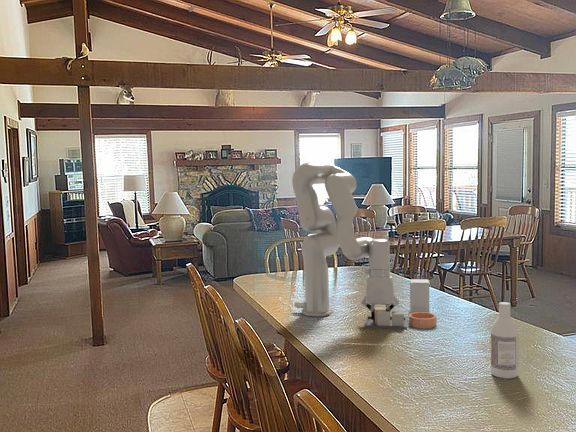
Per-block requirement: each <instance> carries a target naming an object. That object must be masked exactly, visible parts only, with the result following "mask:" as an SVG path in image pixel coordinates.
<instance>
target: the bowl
mask: <svg viewBox="0 0 576 432" xmlns="http://www.w3.org/2000/svg"><path fill="white" fill-rule="evenodd" d="M437 321H438V320H437V314H436V313H431V312H429V313H428V312H415V313H409V314H408V322H409V323H408V325H409V326H411V327H412V328H413V327H414V328H417V329H418V328H419V329H430V328H435V327H437V324H438V323H437Z"/></svg>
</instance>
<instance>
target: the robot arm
mask: <svg viewBox="0 0 576 432" xmlns="http://www.w3.org/2000/svg"><path fill="white" fill-rule="evenodd" d="M291 183H292V188H293V193H294V196H295V200H296V207H297V211H298V212H297V213H298V217H299V222H300V225H301V226H300V227H301V228H302V229H303V230H304V231H306V232H316V233H314V234H311V235H308V236H306V237H305V238H304V239H303V241H302V242H301V246H300V247H301V254H302V258H303V267H304V269H303V270H304V271H303V272H304V296H305V297H304V300H305V301H302V302H299V301H295V302H294V307H295V308H297V309H301V314H302V315H304V316H306V317H307V316H308V317H315V318H316V317H319V318H320V317H326V316H330V315H332V314H333V313H334V309H333V308H332V307H330V287H329V286H330V284H329V281H330V280H329V267H328V266H329V265H328V262H327V260H326V257H329V256H331V255H334V254H336V252H337V251H338V250H339V247H340V250H341V252H342V253H343V255H344V256H345V257H346V258H347V259H349V260H352V261H355V260H360V259H363V258H367V257H368V267H369V268H367V269H365V274H368V275H367V277H366V282H365V296H364V297H363V298H362V300H361V302H360V303H361V305H363V306H365V307H366V308H367V309H368V310H369V311H370V312H371V314H370V316H371V320H373V323H375V306H376V305H385V308H386V311H390V312H391V311H392V310H393V309H394V308H395V307H397V306H398V305H399V304H400V301H399V300H398V299H397V297H396V296H395V291H394V290H395V288H394V287H395V286H394V279H393V276H392V275H391V259H390V258H391V252H390V249H391V248H390V247H391V245H390V241H389V240H388V239H385V238H372V237H367V236H362V237H357V238H356V235H355V232H354V228H353V222H354V221H353V220H354V218H355V216H356V215H357V213H358V210H359V209H358V206H357V204H356V203H357V202H356V201H355V199H354V196H353V194H354V192H355V191H356V189H357V180H356V178H355V176H354V175H352V174H351V173H349V172H348V171H346V170H344V169H342V168H340V167H338V166H336V165H334V164H331V163H330V162H324V161H322V162H320V161H319V162H316V161H314V162H305V163H303V164H300V165H299V166H298V167H297V168H296V169H295V170H294V172H293V175H292V180H291ZM318 184H319V185H320V184H324V188H325V190H326V191H325V192H327V195H328V198H329V201H330V203H331V205H332V209H333V210H334V212H333V211H332V210H331V209H330V208H329V207H328V206H323V205H320V203H319V200H318V194H317V192H316V189H315V188H314V187H313V185H318ZM352 193H353V194H352ZM334 213H335V215H336V218H335V215H334Z"/></svg>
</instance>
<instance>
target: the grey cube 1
mask: <svg viewBox="0 0 576 432" xmlns="http://www.w3.org/2000/svg"><path fill="white" fill-rule="evenodd" d="M390 317H391V310H390V311H378V312H377V326H390Z"/></svg>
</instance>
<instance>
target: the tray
mask: <svg viewBox="0 0 576 432" xmlns="http://www.w3.org/2000/svg"><path fill="white" fill-rule="evenodd" d="M363 328H364V329H382V330H383V329H384V330H386V329H387V330H388V329H389V330H390V329H391V330H408V318H407V316H404V326H392V316H390V326H377V324H375V323H373V320H371V315H366V317H365V320H364V325H363Z"/></svg>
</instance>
